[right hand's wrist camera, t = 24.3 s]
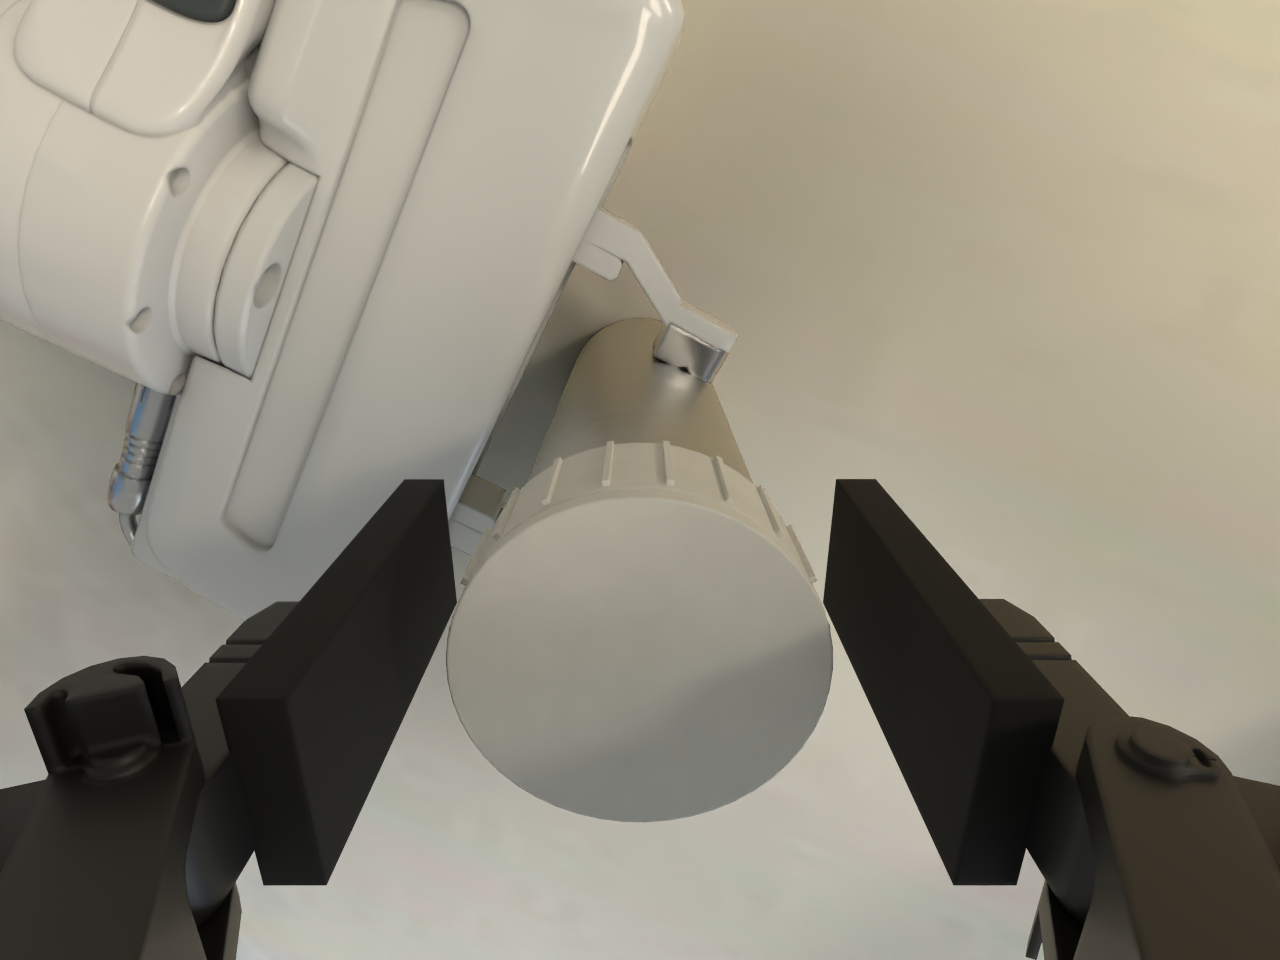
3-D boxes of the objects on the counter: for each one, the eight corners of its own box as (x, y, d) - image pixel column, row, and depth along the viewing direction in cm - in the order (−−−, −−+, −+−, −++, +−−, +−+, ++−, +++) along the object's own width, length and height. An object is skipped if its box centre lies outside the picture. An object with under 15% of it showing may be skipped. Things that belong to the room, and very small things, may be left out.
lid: (673, 769, 14) (679, 877, 12) (417, 624, 13) (370, 713, 10) (869, 558, 12) (920, 637, 10) (597, 368, 11) (585, 409, 9)
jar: (692, 460, 27) (761, 790, 12) (563, 438, 27) (461, 749, 12) (720, 330, 26) (843, 522, 10) (582, 306, 25) (492, 464, 10)
